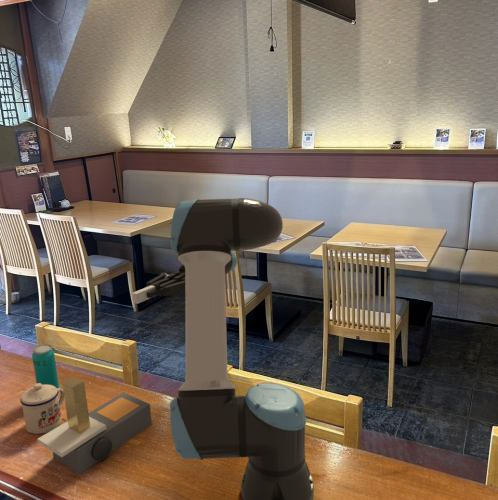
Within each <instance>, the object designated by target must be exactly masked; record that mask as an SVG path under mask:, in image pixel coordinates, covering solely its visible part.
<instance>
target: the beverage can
mask: <svg viewBox="0 0 498 500" xmlns="http://www.w3.org/2000/svg"><path fill="white" fill-rule="evenodd" d="M31 354H32V355H31V357H32V358H31V359H32V365H33V370H34V377H35V384H37V383H41V384H42V385H53V386H55V387H56V388H60V381H59V375H58V369H57V362H56V357H55V355H56V354H55V351H54V349H53V346H52V345H51V344H40V345H37V346H35V347H34V348H32V353H31ZM58 394H60V392H58Z"/></svg>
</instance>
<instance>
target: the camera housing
mask: <svg viewBox="0 0 498 500" xmlns="http://www.w3.org/2000/svg"><path fill="white" fill-rule="evenodd" d="M88 413H89V417H91V418H93V419H95V420H97V421H99V422H101V423H103V424H105V425H106V429H105V430H104V431H102V432H101V433H99V434H98V435H96V436H94V437H93V438H91V439H90V440H88V441H87V442H85V443H83V444H82V445H80V446H79V447H77V448H76V449H74V450H73V451H71V452H69V453H68V454H66V455H65V456H63V457H60V456H59V455H57V454H56V453H54V452H52V456H53V458H54V459H55V460H57V461H58V462H60V463H61V464H63V465H65V466H66V467H67V468H69V469H71V470H73V471H74V472H76V473H77V474H80V475H81V474H82V473H84V472H85V471H86V470H88V469H90V468H91V467H93V465H95V464H96V463H98V462H102V461H104V460H106V459H107V458H108V457H109V455H110V454H111V453H112V452H114V451H115V450H117V449H118V448H120V447H122V446H123V445H124V444H125V443H127V442H129V441H130V440H131V439H134V437H136V436H138V435H139V434H140V433H142V432H143V431H145V430H146V429H148V428H149V427H151V426H152V424H153V423H152V412H151V403H149V402H146V401H145V400H142V399H140V398H138V397H135V396H133V395H130V394H128V393H127V392H122V393H120V394H118V395H116V396H115V397H113V398H111V399H110V400H108V401H107V402H105V403H103V404H101V405H99V406H98V407H96V408H95V409H93V410H92V411H88Z"/></svg>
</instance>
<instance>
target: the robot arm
mask: <svg viewBox="0 0 498 500" xmlns="http://www.w3.org/2000/svg"><path fill="white" fill-rule="evenodd" d="M283 223H284V222H283V218H282V216H281V214H280V213H279V211H278V210H277V209H276V208H275V207H274V206H272V205H271V204H268V203H267V202H263V201H261V200H259V199H253V198H247V197H246V198H245V197H239V198H219V199H218V198H216V199H214V198H212V199H210V198H209V199H199V198H196V199H191V200H183V201H180V202H178V203H177V205H175V208H174V211H173V215H172V218H171V225H170V248H171V251H172V253H174V254H177V255H178V256H177V260H178V262H179V263H181V264H182V265H181V266H180V267H179V269H178V270H176V271H174V272H171V273H170V274H168V273H166V271H163V272H161V273H160V275H158V276H155V277H154V278H152V279H149V281H147V282H146V287H144V288H142V289H139V290H136V291H134V292H132V302H133V304H140V303H144V302H145V301H149V299H150V300H151V299H152V298H155V297H157V296H158V297H160V296H164V297H168V296H172V295H175V294H179V293H183V292H185V295H184V296H185V297H184V298H185V299H184V300H185V301H184V303H185V304H184V305H185V381H184V382H183V384H182V385H181V386H180V387H179V388H178V390H177V391H178V392H177V394H178V396H177V397H175V398H173V399H171V400H170V403H169V404H170V405H169V407H170V409H169V411H170V412H169V413H170V414H169V415H170V417H169V418H170V429H171V436H172V440H173V445H174V448H175V451H176V453H177V454H178V456H179V457H180V458H182V459H184V460H199V461H204V460H207V459H209V460H211V459H230V458H231V459H235V458H236V459H237V458H248V461H247V464H246V466H245V470H244V473H243V476H242V479H241V484H240V488H241V490H240V491H241V498H242V500H314V497H315V496H314V495H315V491H314V490H315V487H314V480H313V477H312V475H311V472H310V469H309V467H308V464H307V461H306V424H307V417H306V413H305V412H306V411H305V409H306V408H305V402H304V400H303V399H302V396H301V395H300V394H299V393H298V392H297V391H295V390H293V389H291V388H290V387H289V386H286V385H283V384H280V383H273V382H262V383H261V382H260V383H258V384H256V385H252V386H251V387H250V388H249V389H248V390H247V391H246V393H245V395H239V396H238V395H236V386H235V385H234V384H233V383H232V382H231V381H230V380H229V379H228V344H227V343H228V342H227V337H228V336H227V309H226V308H227V306H226V299H227V298H226V275H228V274H229V273H231V272H232V271H234V270H235V268H236V267H237V265H238V259H237V256H236V254H235V251H236V252H238V251H239V252H240V251H249V250H255V249H258V248H263V247H265V246H268V245H271V244H272V243H276V242H277V241H278V239H279V237H280V236H281V235H282V233H283V232H282V231H283V227H284V225H283Z"/></svg>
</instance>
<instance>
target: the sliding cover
mask: <svg viewBox="0 0 498 500" xmlns="http://www.w3.org/2000/svg"><path fill="white" fill-rule="evenodd" d="M61 383H62V385H61V386H62V389H63V392H64V404H65V411H66V417H67V421H65V422H64V423H62V424H61V425H60V424H59V425H58V426H57V427H56V428H55V429H53V430H51V431H49V432H46V433H44V435H42V436H40V437H38V438H37V443H38V444H40V445H41V446H43V447H44V448H46V449H48V450H49V451H50V452H52V453H53V452H54V453H56V454H57V455H59V456H60V457H63V456H65V455H66V454H68V453H69V452H71V451H73V450H74V449H76V448H77V447H79V446H80V445H82V444H83V443H85V442H87V441H88V440H90V439H91V438H93V437H94V436H96V435H98V434H99V433H101V432H102V431H104V430H105V429H106V425H105V424H103V423H101V422H99V421H97V420H95V419H93V418H91V417H89V407H88V399H87V393H86V386H85V380H83V379H80V378H78V377H76V376H70V377H68V378H66V379H65V380H63V381H62V382H61Z"/></svg>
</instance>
